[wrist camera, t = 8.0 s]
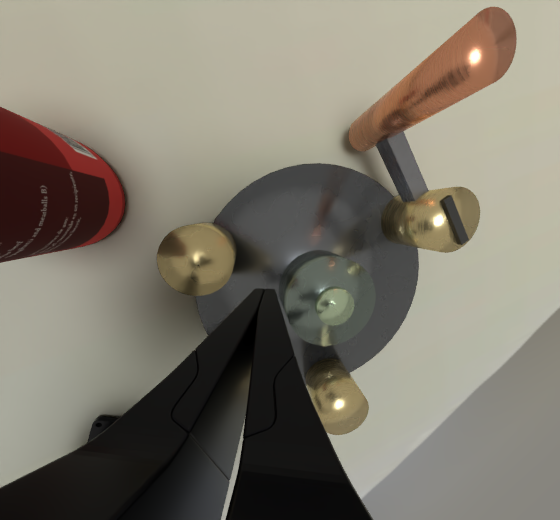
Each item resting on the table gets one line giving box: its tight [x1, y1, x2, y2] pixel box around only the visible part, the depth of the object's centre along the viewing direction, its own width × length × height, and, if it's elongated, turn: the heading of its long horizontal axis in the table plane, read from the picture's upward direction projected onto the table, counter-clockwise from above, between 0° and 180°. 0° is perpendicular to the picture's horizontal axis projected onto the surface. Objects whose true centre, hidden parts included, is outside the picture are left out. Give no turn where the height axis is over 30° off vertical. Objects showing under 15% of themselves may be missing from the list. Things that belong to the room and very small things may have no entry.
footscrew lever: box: [349, 7, 516, 253], centre depth 13 cm, size 11×4×8 cm, turn 35°
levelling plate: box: [157, 163, 419, 435], centre depth 17 cm, size 21×23×5 cm
